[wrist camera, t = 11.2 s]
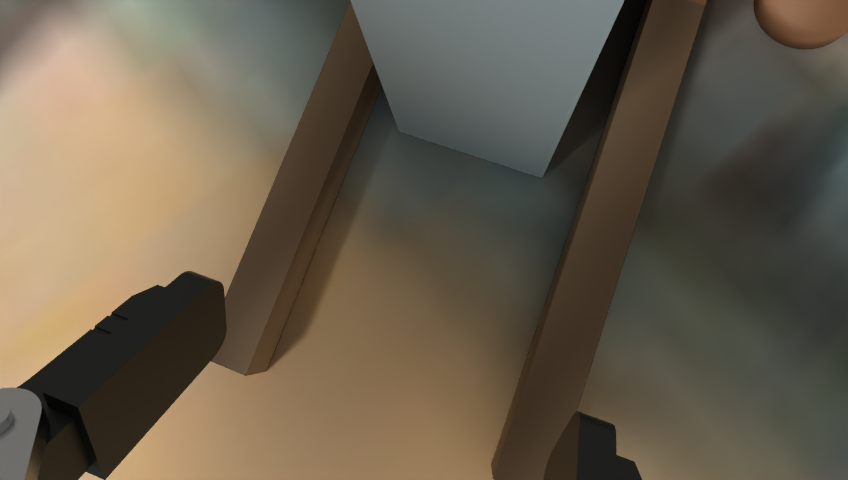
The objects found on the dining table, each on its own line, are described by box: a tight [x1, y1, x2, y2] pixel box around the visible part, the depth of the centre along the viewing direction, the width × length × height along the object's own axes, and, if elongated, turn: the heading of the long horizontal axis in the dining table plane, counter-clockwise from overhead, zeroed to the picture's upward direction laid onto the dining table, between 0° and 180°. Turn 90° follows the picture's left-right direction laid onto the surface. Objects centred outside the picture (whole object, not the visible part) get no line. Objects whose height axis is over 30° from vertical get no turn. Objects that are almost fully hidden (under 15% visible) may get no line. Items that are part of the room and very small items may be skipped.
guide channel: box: [211, 0, 848, 480], centre depth 16 cm, size 20×24×3 cm
